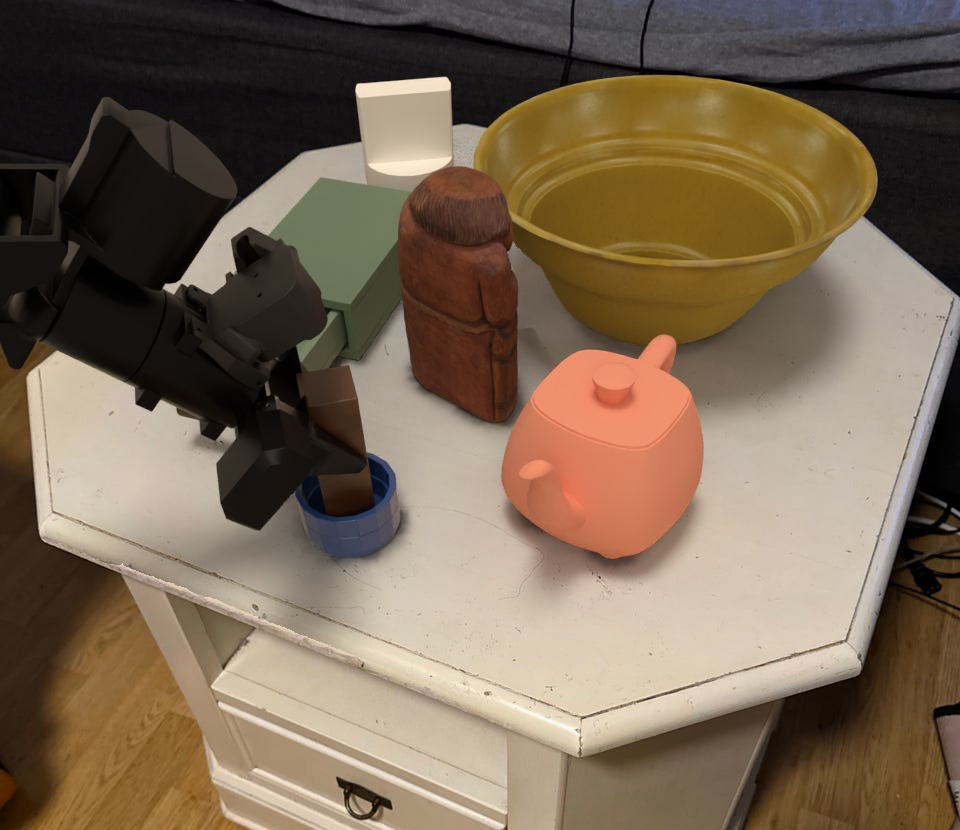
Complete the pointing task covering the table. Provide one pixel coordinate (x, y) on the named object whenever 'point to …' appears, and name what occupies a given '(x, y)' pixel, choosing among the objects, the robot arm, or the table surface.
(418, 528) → the table surface
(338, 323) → the drawer
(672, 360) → the teapot
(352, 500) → the walnut block
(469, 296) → the wooden figurine
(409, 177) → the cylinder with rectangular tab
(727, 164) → the planter bowl
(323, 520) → the blue bowl
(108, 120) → the robot arm
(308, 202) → the cabinet
